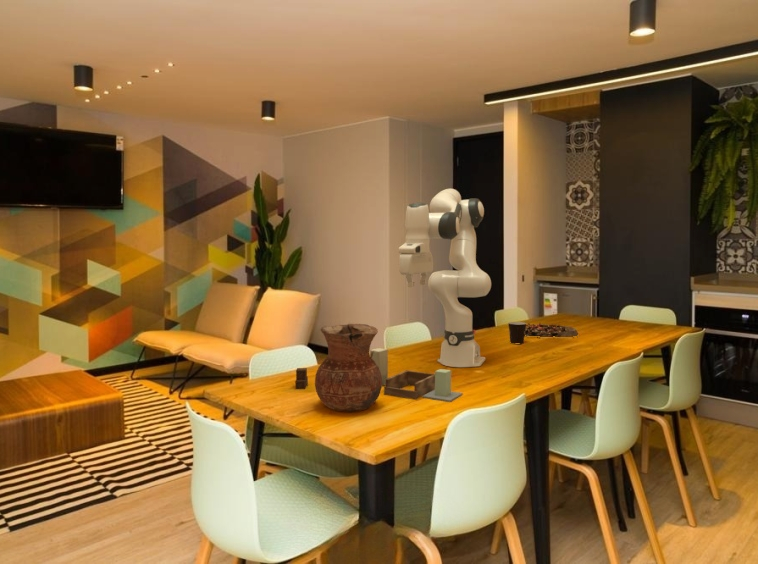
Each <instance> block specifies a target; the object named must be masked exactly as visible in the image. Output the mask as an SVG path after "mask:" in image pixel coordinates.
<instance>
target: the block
mask: <svg viewBox="0 0 758 564" xmlns="http://www.w3.org/2000/svg"><path fill="white" fill-rule="evenodd" d="M434 374H435V395H438V396H445V397H446V396H448V395H450V394H451V391H452V369H451V370H450V369H443V368H440V369H437V370H435V371H434Z"/></svg>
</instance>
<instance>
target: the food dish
mask: <svg viewBox="0 0 758 564" xmlns="http://www.w3.org/2000/svg"><path fill="white" fill-rule="evenodd" d="M578 334H579V332H578V330H577V329H576V328H575V327H572V326H567V325H566V326H565V325H561V324H558V325H556V324H543V323H542V324H541V323H538V324H536V323H535V324H534V323H533V324H530V322H527V324H526V329H525V335H526V336H540V337H553V336H555V337H573V336H577V335H578Z"/></svg>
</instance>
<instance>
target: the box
mask: <svg viewBox="0 0 758 564" xmlns="http://www.w3.org/2000/svg"><path fill="white" fill-rule="evenodd" d="M388 353H389V351H388V349H387V348H380V347H378V348H373V349H370V350H369V355H370V357H371V358H372V359H373V360H374V361H375V363H376V364H377V366H378V367H379V370H380V372H381V376H382V387H383V386H386V379H387V378H389V374H388V373H389V371H388V370H389V367H388V366H389V364H388V363H389V362H388V361H389V357H388V356H389V355H388Z"/></svg>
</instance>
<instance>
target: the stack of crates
mask: <svg viewBox="0 0 758 564" xmlns="http://www.w3.org/2000/svg"><path fill="white" fill-rule="evenodd" d="M295 375H296V376H295V381H294V383H295V384H294V385H295V390H306V388H307V386H308V385H309V384H308V382H309V381H308V380H309V378H308V377H309V376H308V367H297V368H296V370H295Z"/></svg>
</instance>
